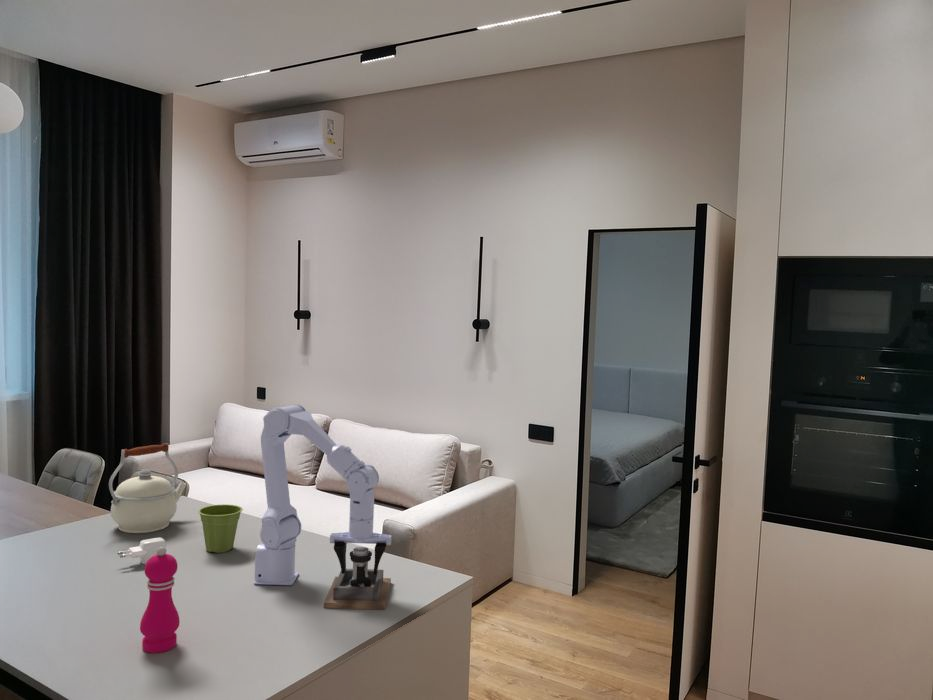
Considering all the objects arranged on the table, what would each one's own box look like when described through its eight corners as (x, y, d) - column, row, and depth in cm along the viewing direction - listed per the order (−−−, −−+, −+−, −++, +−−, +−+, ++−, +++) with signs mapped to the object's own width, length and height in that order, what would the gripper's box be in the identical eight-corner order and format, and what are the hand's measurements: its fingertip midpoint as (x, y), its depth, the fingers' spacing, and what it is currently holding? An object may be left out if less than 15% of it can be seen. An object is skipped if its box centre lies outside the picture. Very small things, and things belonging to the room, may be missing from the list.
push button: (348, 597, 162) (350, 555, 161) (339, 589, 166) (341, 548, 166) (374, 591, 165) (375, 550, 165) (364, 584, 170) (366, 544, 169)
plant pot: (250, 547, 196) (251, 508, 195) (215, 559, 186) (216, 518, 185) (223, 539, 202) (224, 501, 202) (188, 549, 192) (189, 510, 192)
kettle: (126, 541, 197) (128, 455, 196) (92, 528, 207) (93, 446, 206) (202, 522, 218) (204, 444, 217) (167, 511, 228) (169, 436, 227)
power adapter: (120, 570, 175) (121, 548, 175) (116, 565, 179) (116, 542, 179) (166, 562, 182) (167, 540, 182) (161, 556, 186) (161, 535, 186)
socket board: (323, 607, 158) (324, 590, 158) (335, 581, 174) (335, 565, 174) (384, 609, 158) (385, 592, 158) (390, 582, 174) (391, 567, 174)
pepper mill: (147, 637, 141) (149, 540, 140) (184, 637, 141) (186, 541, 140) (133, 654, 133) (135, 553, 132) (172, 654, 134) (174, 553, 133)
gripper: (328, 521, 161) (326, 578, 162) (390, 523, 162) (388, 579, 162) (333, 512, 168) (331, 567, 169) (392, 514, 169) (390, 569, 169)
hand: (359, 572), depth 166 cm, fingers open, 7 cm apart
